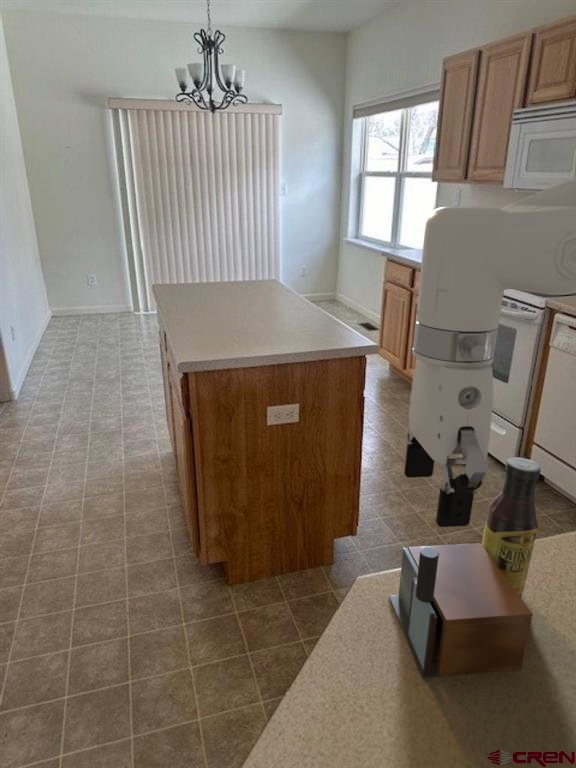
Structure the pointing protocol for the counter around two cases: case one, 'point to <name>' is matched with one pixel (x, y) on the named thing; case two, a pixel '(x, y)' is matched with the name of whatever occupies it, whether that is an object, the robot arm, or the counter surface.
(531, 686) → the counter surface
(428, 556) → the glass door
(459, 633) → the cabinet
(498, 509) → the sauce bottle
